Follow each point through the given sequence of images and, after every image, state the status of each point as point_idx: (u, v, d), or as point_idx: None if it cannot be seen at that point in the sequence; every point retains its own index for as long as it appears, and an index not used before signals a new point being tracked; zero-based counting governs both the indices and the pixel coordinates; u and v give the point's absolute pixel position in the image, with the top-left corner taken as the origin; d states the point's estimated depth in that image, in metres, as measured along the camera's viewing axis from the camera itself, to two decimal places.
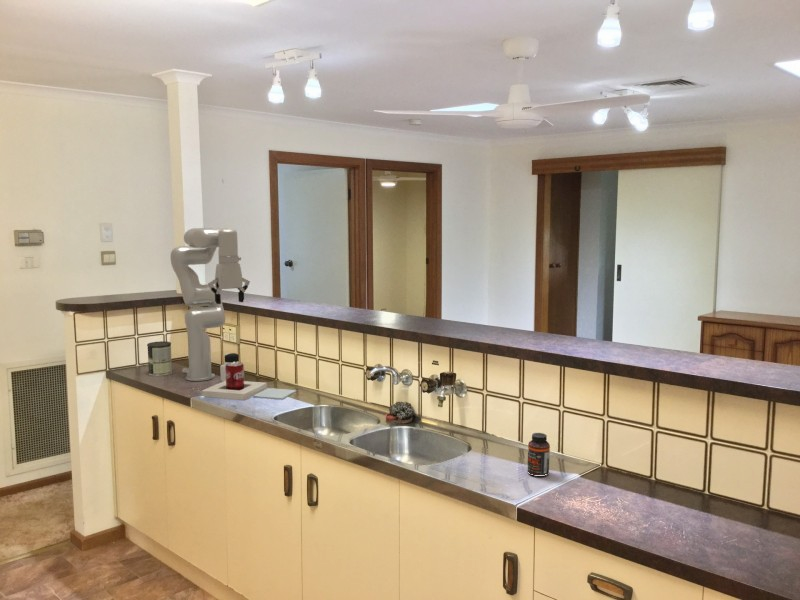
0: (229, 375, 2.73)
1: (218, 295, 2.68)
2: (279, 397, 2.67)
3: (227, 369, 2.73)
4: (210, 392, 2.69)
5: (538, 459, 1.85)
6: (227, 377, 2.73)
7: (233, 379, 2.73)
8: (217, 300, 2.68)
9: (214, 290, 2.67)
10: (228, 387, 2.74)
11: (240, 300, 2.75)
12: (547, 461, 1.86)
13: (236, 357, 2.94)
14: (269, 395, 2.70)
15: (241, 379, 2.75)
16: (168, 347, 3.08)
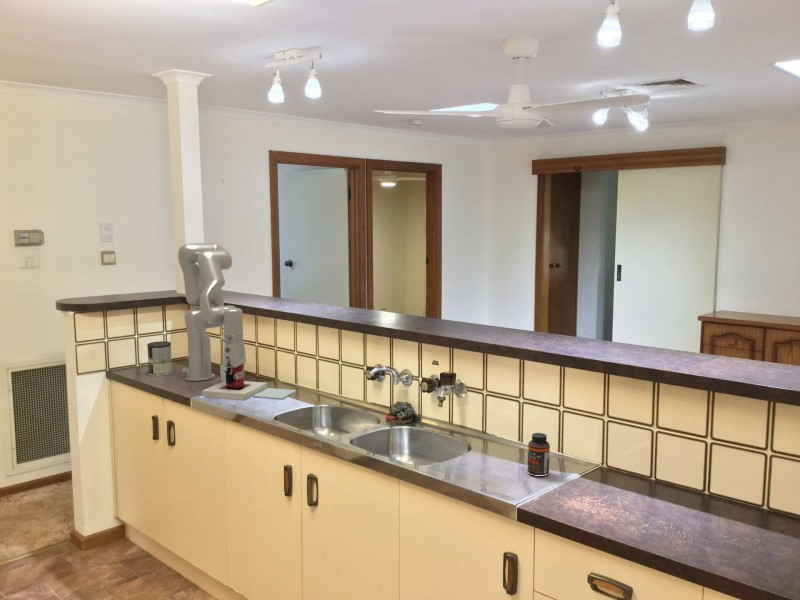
0: None
1: None
2: (279, 397, 2.67)
3: None
4: (210, 392, 2.69)
5: (538, 459, 1.85)
6: None
7: None
8: None
9: None
10: (228, 387, 2.74)
11: None
12: (547, 461, 1.86)
13: None
14: (269, 395, 2.70)
15: (241, 379, 2.75)
16: (168, 347, 3.08)
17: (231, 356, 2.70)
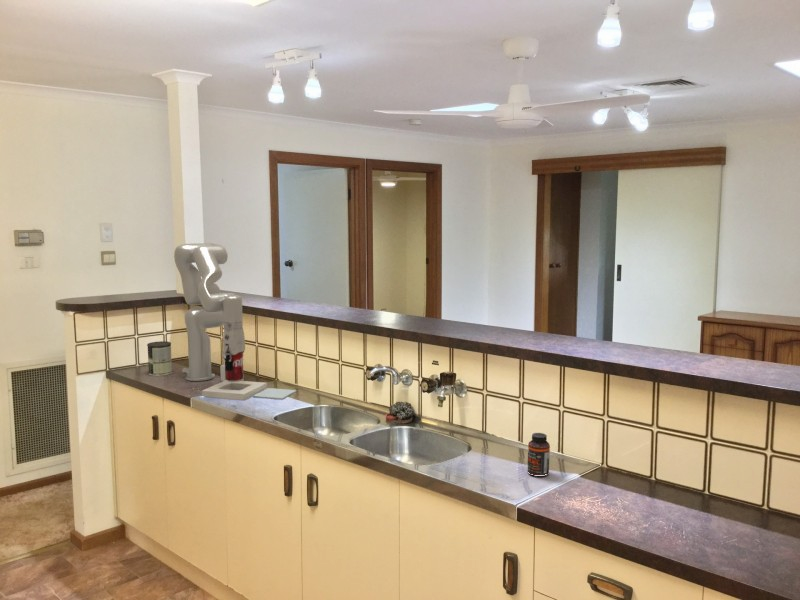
0: None
1: None
2: (279, 397, 2.67)
3: None
4: (210, 392, 2.69)
5: (538, 459, 1.85)
6: None
7: (233, 366, 2.72)
8: None
9: None
10: (227, 374, 2.73)
11: None
12: (547, 461, 1.86)
13: None
14: (269, 395, 2.70)
15: (240, 366, 2.74)
16: (168, 347, 3.08)
17: (230, 343, 2.69)
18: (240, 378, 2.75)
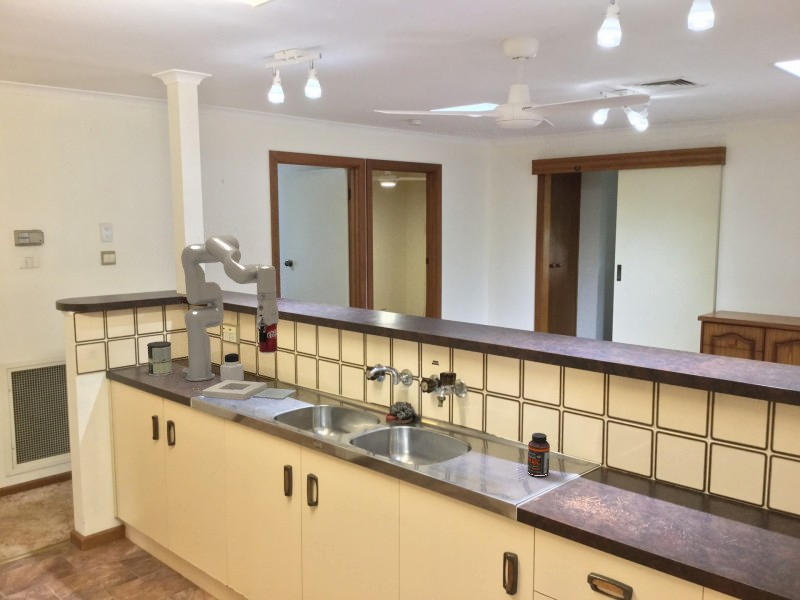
0: None
1: None
2: (279, 397, 2.67)
3: None
4: (210, 392, 2.69)
5: (538, 459, 1.85)
6: None
7: (267, 337, 2.68)
8: None
9: None
10: (261, 346, 2.69)
11: None
12: (547, 461, 1.86)
13: (236, 357, 2.94)
14: (269, 395, 2.70)
15: (274, 338, 2.70)
16: (168, 347, 3.08)
17: (265, 314, 2.65)
18: (274, 350, 2.70)
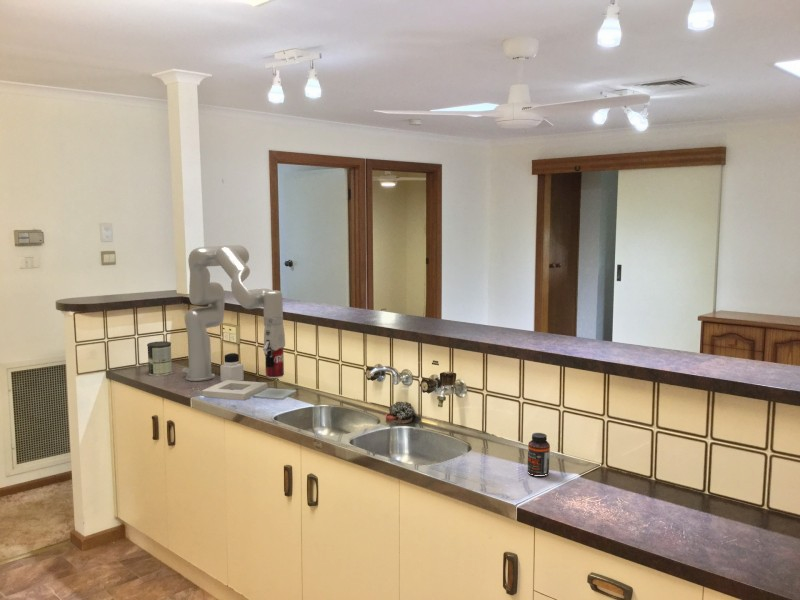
0: None
1: None
2: (279, 397, 2.67)
3: None
4: (210, 392, 2.69)
5: (538, 459, 1.85)
6: None
7: (274, 362, 2.69)
8: None
9: None
10: (268, 370, 2.70)
11: None
12: (547, 461, 1.86)
13: (236, 357, 2.94)
14: (269, 395, 2.70)
15: (281, 362, 2.71)
16: (168, 347, 3.08)
17: (271, 339, 2.66)
18: (281, 374, 2.71)
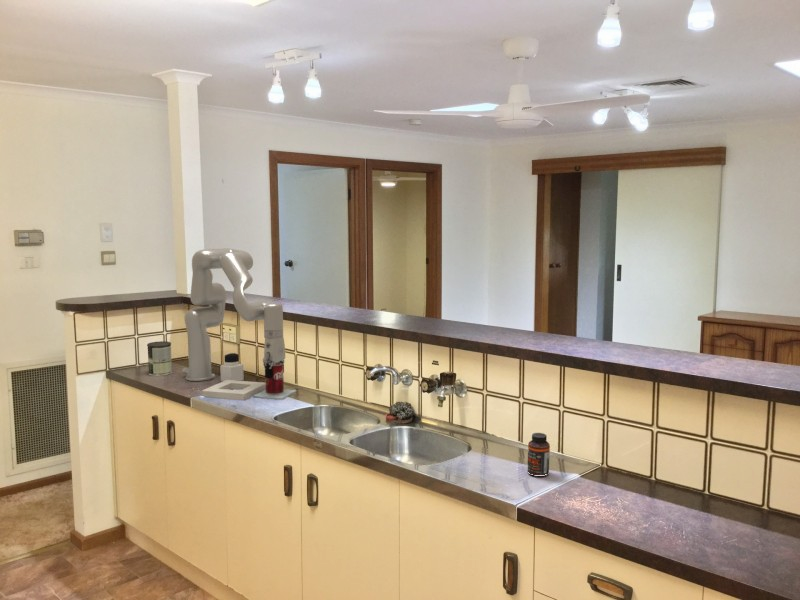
0: None
1: None
2: (279, 397, 2.67)
3: None
4: (210, 392, 2.69)
5: (538, 459, 1.85)
6: None
7: (273, 379, 2.70)
8: None
9: None
10: (268, 387, 2.71)
11: None
12: (547, 461, 1.86)
13: (236, 357, 2.94)
14: (269, 395, 2.70)
15: (281, 379, 2.72)
16: (168, 347, 3.08)
17: (272, 351, 2.67)
18: (281, 391, 2.72)
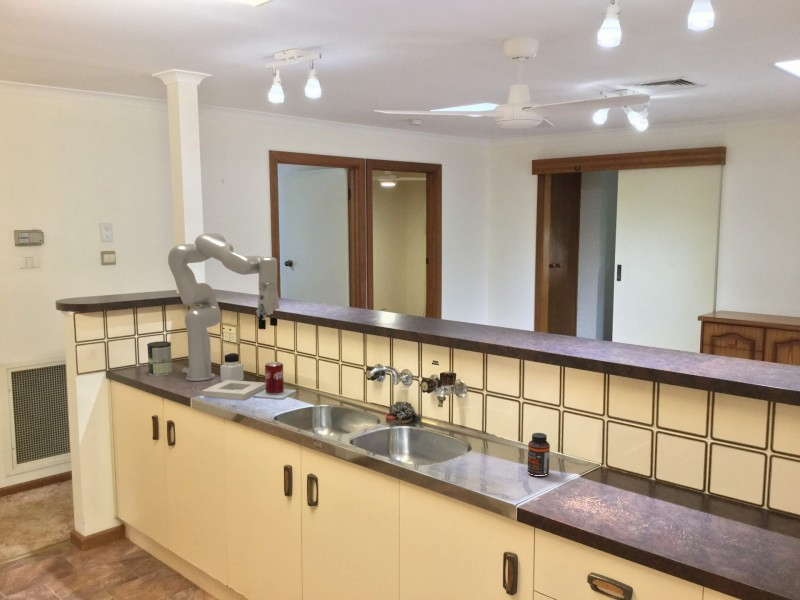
0: (269, 375, 2.70)
1: None
2: (279, 397, 2.67)
3: (267, 369, 2.70)
4: (210, 392, 2.69)
5: (538, 459, 1.85)
6: (267, 377, 2.71)
7: (273, 379, 2.70)
8: None
9: None
10: (268, 387, 2.71)
11: None
12: (547, 461, 1.86)
13: (236, 357, 2.94)
14: (269, 395, 2.70)
15: (281, 379, 2.72)
16: (168, 347, 3.08)
17: (265, 303, 2.78)
18: (281, 391, 2.72)
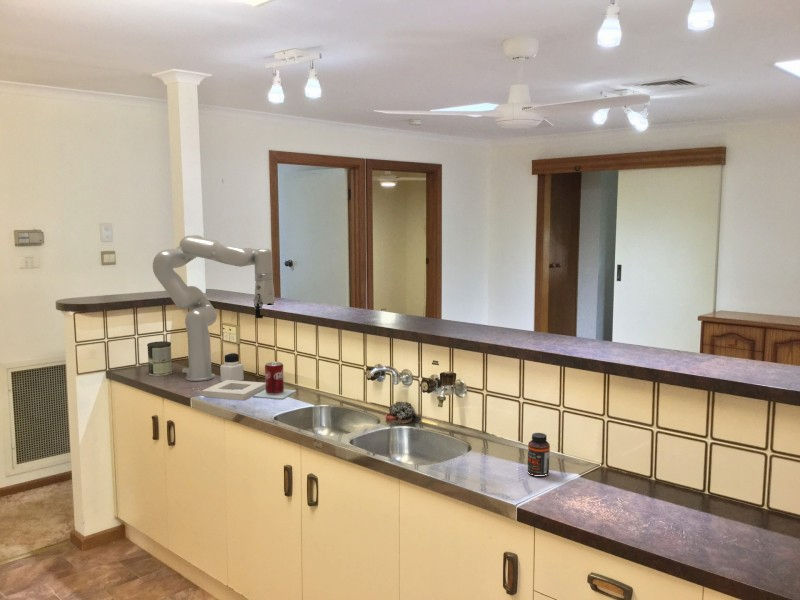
0: (269, 375, 2.70)
1: None
2: (279, 397, 2.67)
3: (267, 369, 2.70)
4: (210, 392, 2.69)
5: (538, 459, 1.85)
6: (267, 377, 2.71)
7: (273, 379, 2.70)
8: None
9: None
10: (268, 387, 2.71)
11: None
12: (547, 461, 1.86)
13: (236, 357, 2.94)
14: (269, 395, 2.70)
15: (281, 379, 2.72)
16: (168, 347, 3.08)
17: (262, 293, 2.88)
18: (281, 391, 2.72)
